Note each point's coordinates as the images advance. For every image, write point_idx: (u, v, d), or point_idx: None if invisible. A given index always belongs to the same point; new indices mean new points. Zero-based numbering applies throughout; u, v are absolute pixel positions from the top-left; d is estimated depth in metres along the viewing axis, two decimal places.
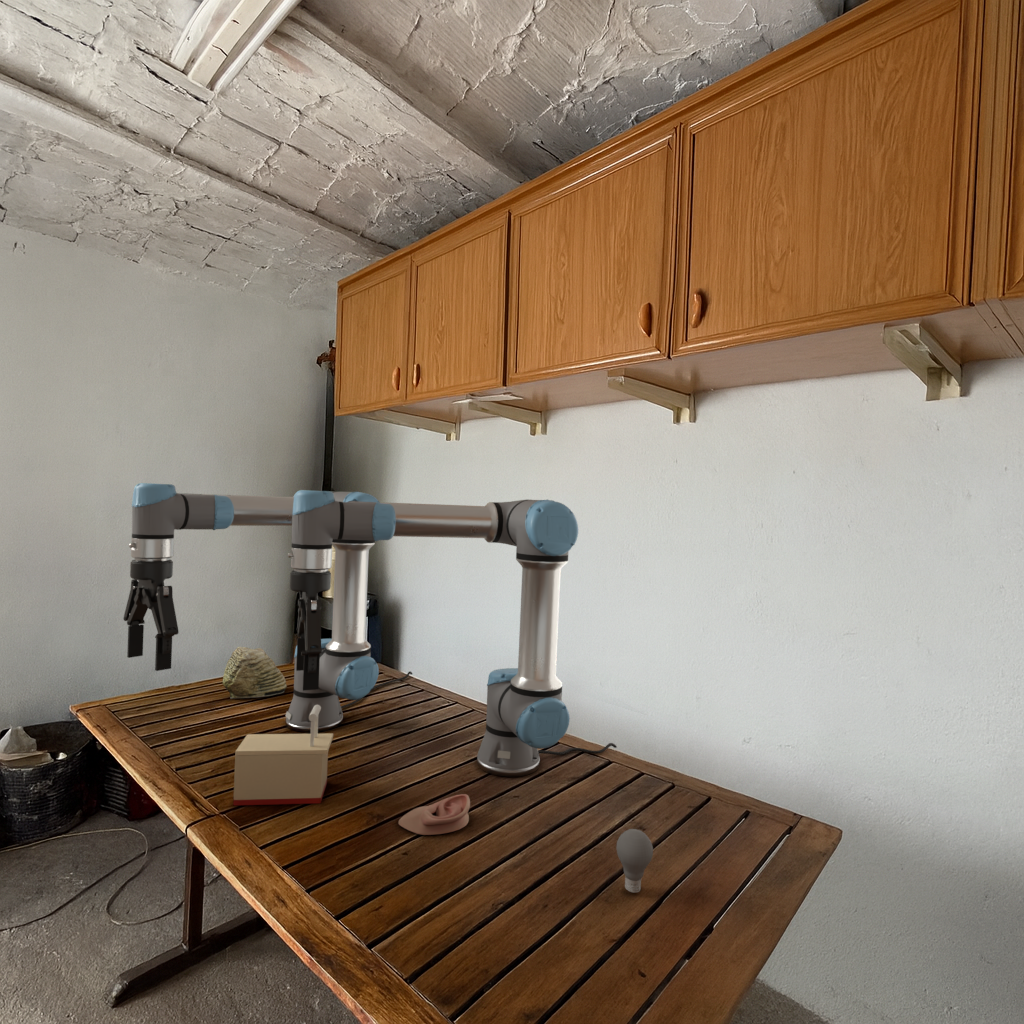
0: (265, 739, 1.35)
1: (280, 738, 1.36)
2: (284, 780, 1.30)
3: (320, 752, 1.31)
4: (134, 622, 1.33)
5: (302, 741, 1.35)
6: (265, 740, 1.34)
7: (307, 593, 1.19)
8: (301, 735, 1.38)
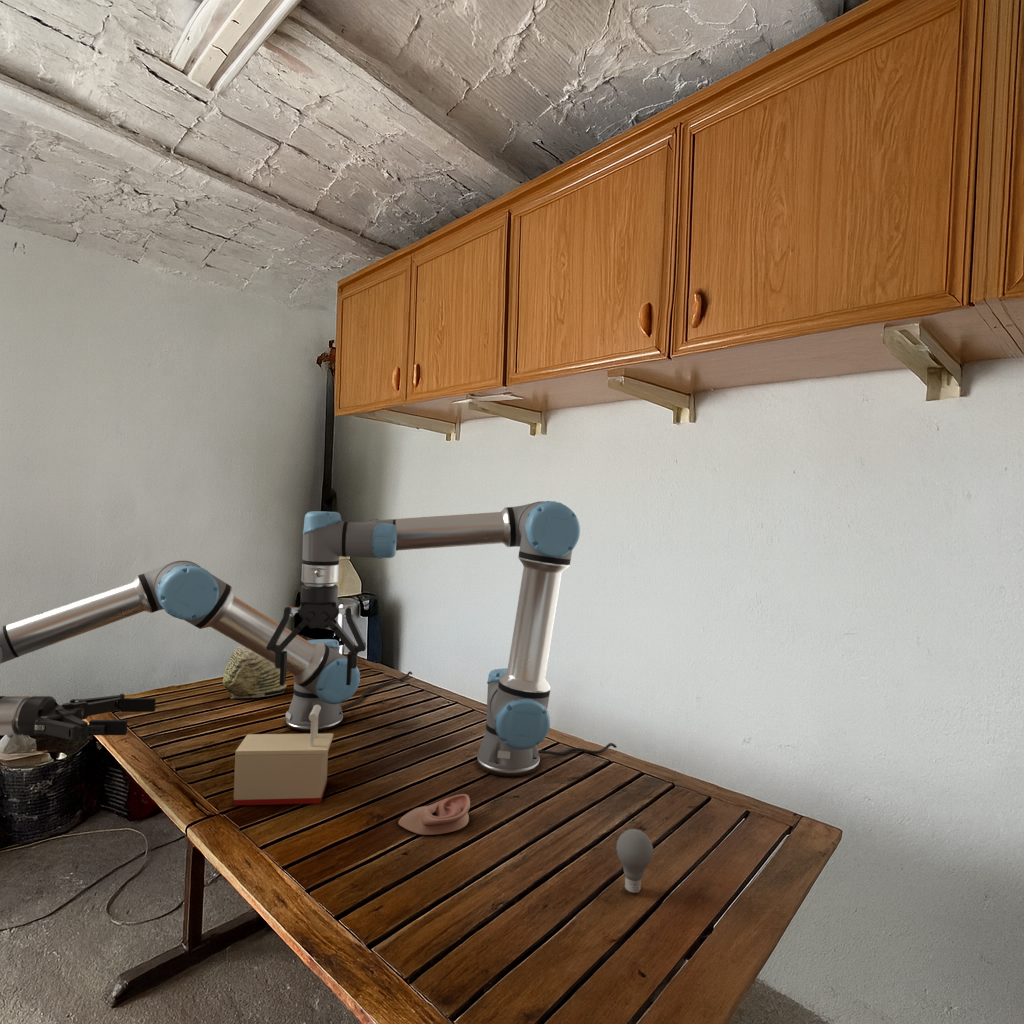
0: (265, 739, 1.35)
1: (280, 738, 1.36)
2: (284, 780, 1.30)
3: (320, 752, 1.31)
4: (119, 705, 1.36)
5: (302, 741, 1.35)
6: (265, 740, 1.34)
7: (335, 603, 1.34)
8: (301, 735, 1.38)
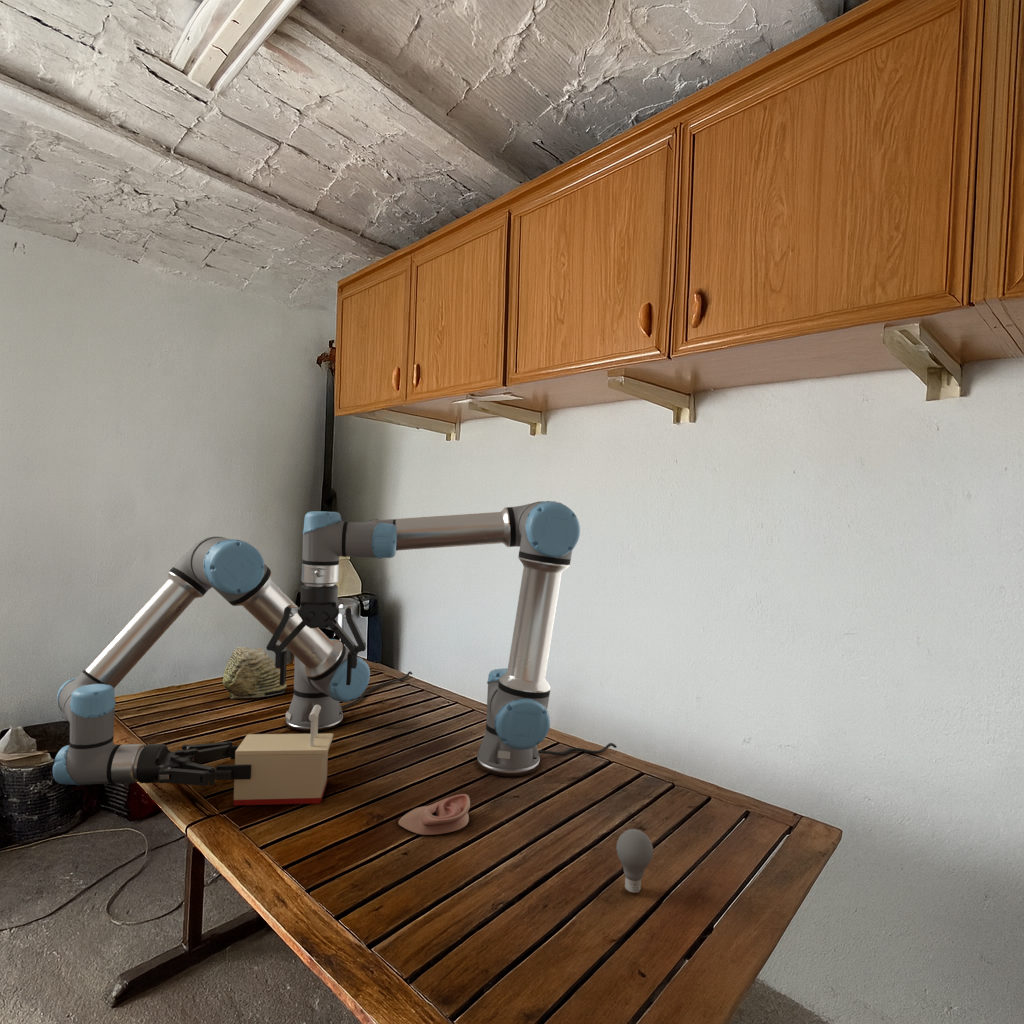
0: (265, 739, 1.35)
1: (280, 738, 1.36)
2: (284, 780, 1.30)
3: (320, 752, 1.31)
4: (227, 752, 1.38)
5: (302, 741, 1.35)
6: (265, 740, 1.34)
7: (335, 603, 1.34)
8: (301, 735, 1.38)
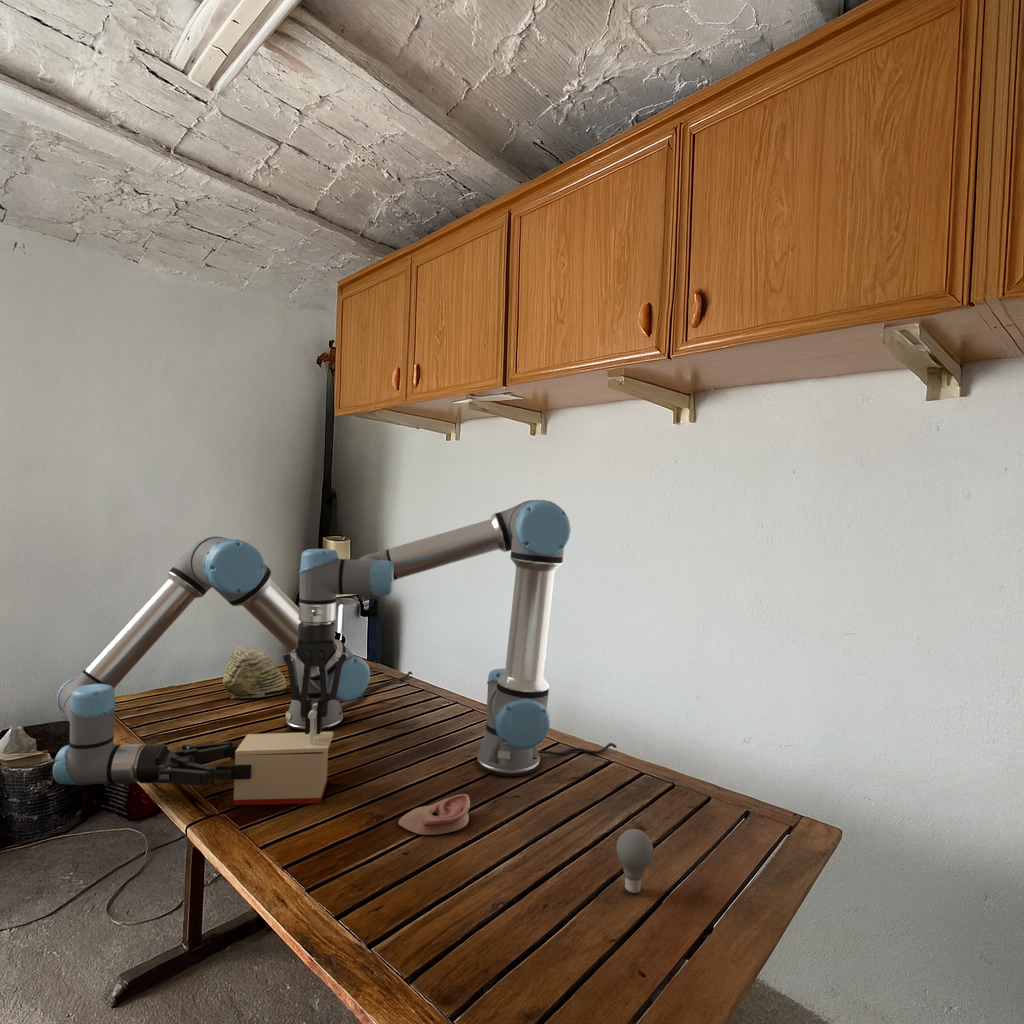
0: (265, 738, 1.35)
1: (280, 737, 1.36)
2: (284, 780, 1.30)
3: (320, 750, 1.31)
4: (227, 752, 1.38)
5: (302, 740, 1.35)
6: (265, 739, 1.34)
7: (333, 641, 1.34)
8: (301, 734, 1.38)
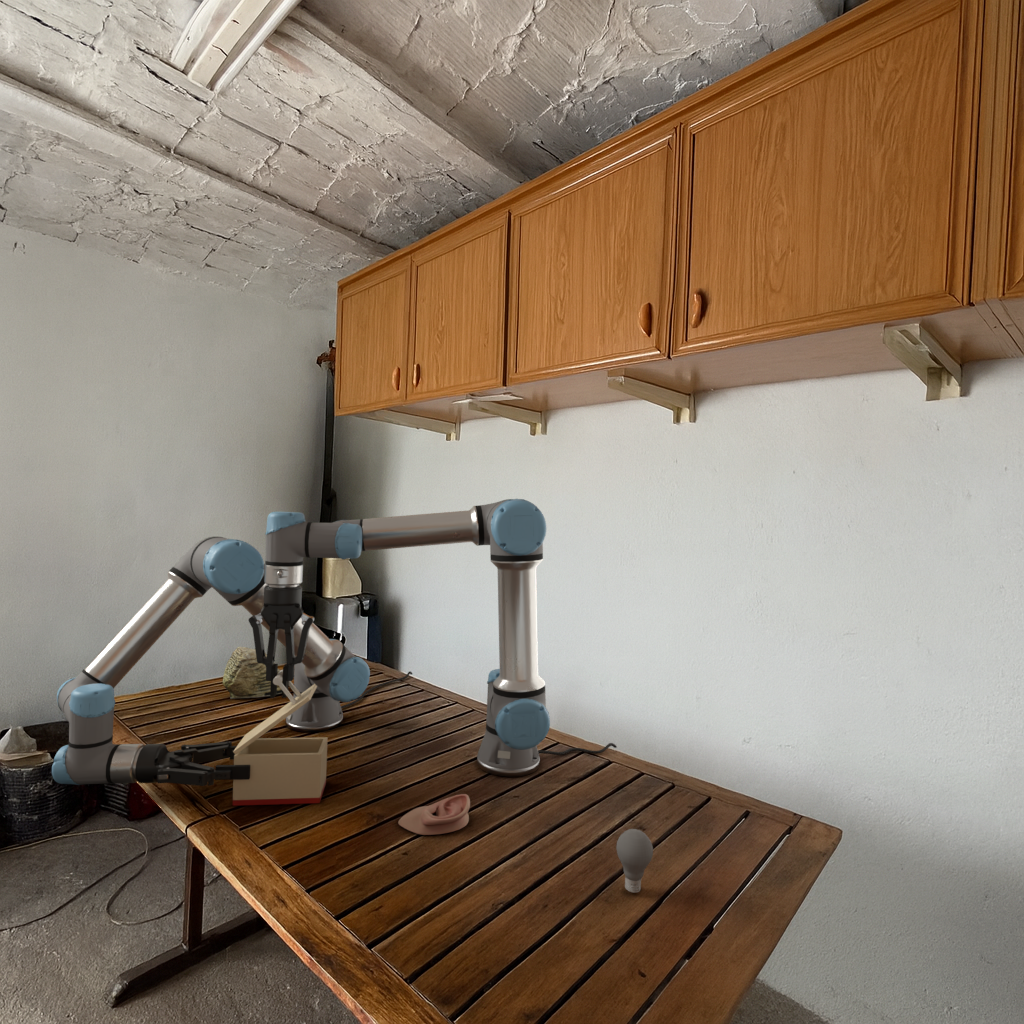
0: (258, 727, 1.35)
1: (271, 717, 1.36)
2: (283, 780, 1.30)
3: (303, 702, 1.30)
4: (227, 753, 1.38)
5: (288, 706, 1.34)
6: (258, 727, 1.34)
7: (299, 604, 1.33)
8: (288, 703, 1.37)
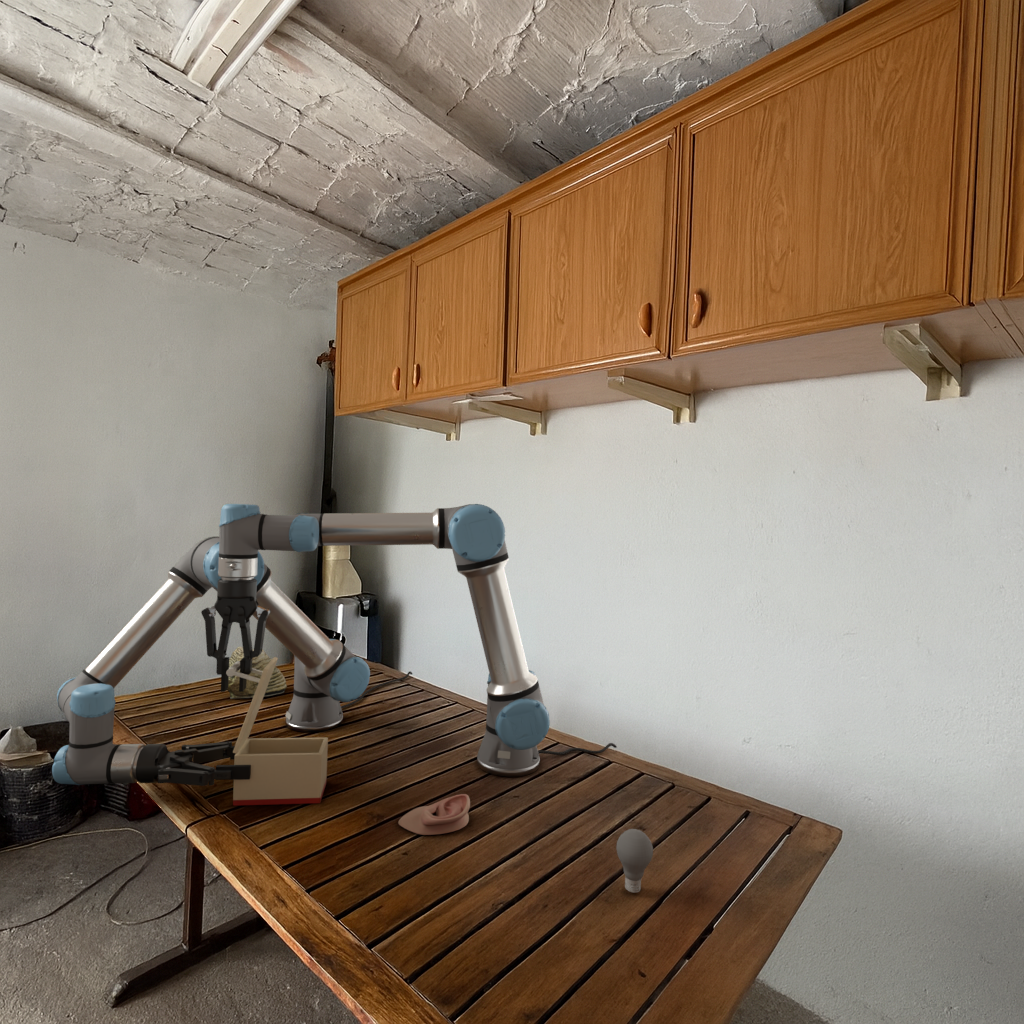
0: None
1: None
2: (284, 780, 1.30)
3: (264, 675, 1.29)
4: (227, 753, 1.38)
5: None
6: None
7: (253, 597, 1.32)
8: None
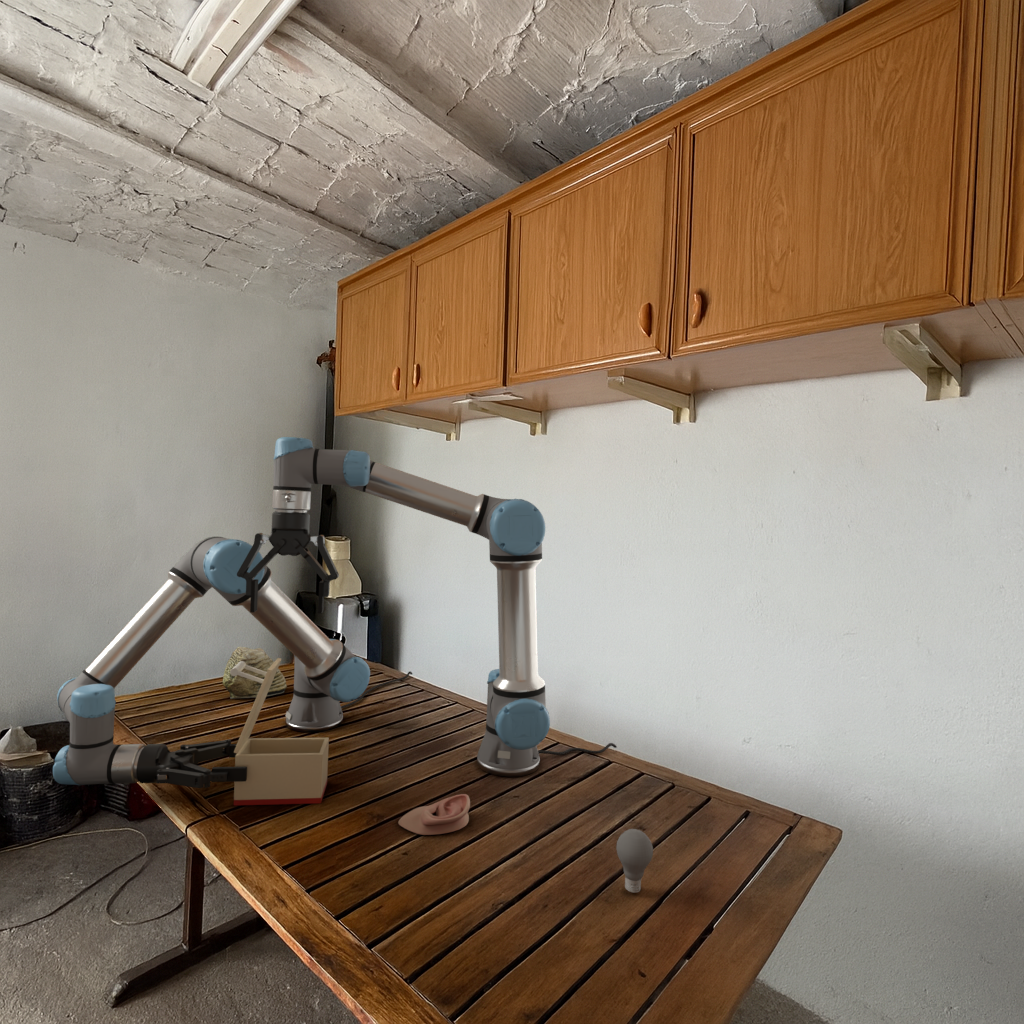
0: None
1: None
2: (284, 780, 1.30)
3: (267, 676, 1.29)
4: (226, 751, 1.39)
5: None
6: None
7: (307, 531, 1.33)
8: None
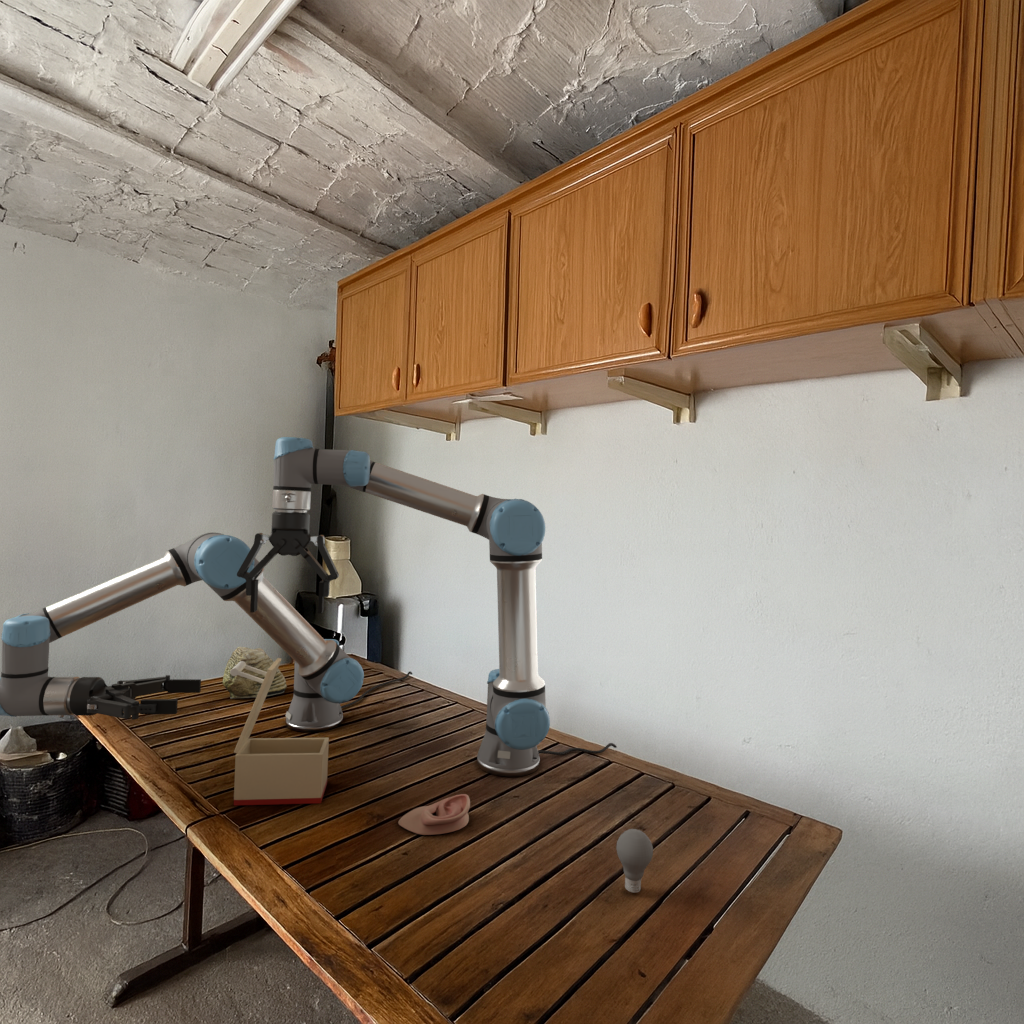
0: None
1: None
2: (284, 780, 1.30)
3: (267, 676, 1.29)
4: (165, 686, 1.37)
5: None
6: None
7: (307, 531, 1.33)
8: None
